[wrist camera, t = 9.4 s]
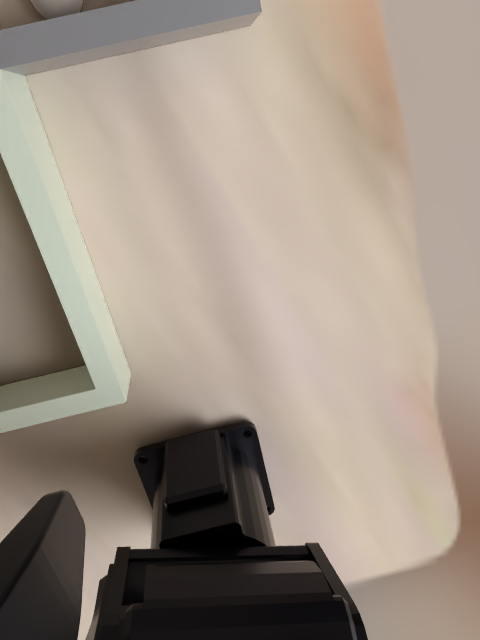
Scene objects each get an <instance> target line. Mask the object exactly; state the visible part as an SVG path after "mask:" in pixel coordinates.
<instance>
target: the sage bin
mask: <svg viewBox="0 0 480 640" xmlns="http://www.w3.org/2000/svg"><path fill="white" fill-rule="evenodd" d="M0 153H1V156H2V158H3V161H4V163H5V166H6V168H7V171H8V173H9V176H10V178H11V180H12V183H13V185H14V188H15V190H16V193H17V195H18V198H19V200H20V203H21V205H22V208H23V210H24V213H25V215H26V218H27V220H28V223H29V225H30V227H31V230H32V232H33V235H34V237H35V240H36V242H37V245H38V247H39V250H40V252H41V255H42V257H43V260H44V262H45V265H46V267H47V270H48V272H49V274H50V277H51V279H52V282H53V284H54V287H55V289H56V292H57V294H58V297H59V299H60V302H61V304H62V307H63V309H64V312H65V314H66V316H67V319H68V321H69V324H70V326H71V329H72V331H73V334H74V336H75V339H76V341H77V344H78V346H79V349H80V351H81V354H82V356H83V359H84V361H85V363H86V365H85V366H81V367H76V368H72V369H68V370H64V371H60V372H56V373H52V374H47V375H43V376H39V377H35V378H31V379H27V380H23V381H18V382H14V383H10V384H6V385H2V386H0V433H3V432H7V431H11V430H16V429H20V428H24V427H28V426H32V425H36V424H40V423H44V422H48V421H52V420H57V419H61V418H65V417H69V416H73V415H77V414H81V413H85V412H89V411H93V410H98V409H102V408H106V407H110V406H114V405H118V404H122V403H126V400H127V395H128V389H129V384H130V378H131V371H130V368H129V365H128V363H127V360H126V357H125V354H124V351H123V349H122V346H121V343H120V340H119V337H118V335H117V332H116V329H115V326H114V324H113V321H112V318H111V315H110V312H109V310H108V307H107V304H106V301H105V298H104V296H103V293H102V290H101V287H100V284H99V282H98V279H97V276H96V273H95V271H94V268H93V265H92V262H91V259H90V257H89V254H88V251H87V248H86V245H85V243H84V240H83V237H82V234H81V232H80V229H79V226H78V223H77V220H76V218H75V215H74V212H73V209H72V206H71V204H70V201H69V198H68V195H67V192H66V190H65V187H64V184H63V181H62V179H61V176H60V173H59V170H58V167H57V165H56V162H55V159H54V156H53V153H52V151H51V148H50V145H49V142H48V140H47V137H46V134H45V131H44V128H43V126H42V123H41V120H40V117H39V114H38V112H37V109H36V106H35V103H34V100H33V98H32V95H31V92H30V89H29V87H28V84H27V81H26V78H25V76H24V75H20V74H16V73H13V72H9V71H5V70H2V69H0Z"/></svg>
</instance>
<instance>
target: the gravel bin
mask: <svg viewBox="0 0 480 640" xmlns="http://www.w3.org/2000/svg"><path fill="white" fill-rule="evenodd" d="M30 1H31V3H32V4H33V6H34V8H35V9H36V10H37V11H38V12H39V13H40V14H41V15H42V16H43V17H44V18H46V19H48V20H43V21H39V22H34V23H30V24H25V25H20V26H16V27H11V28H7V29H2V30H0V69H2V70H5V71H9V72H13V73H16V74H20V75H24V76H26V75H31V74H35V73H40V72H44V71H49V70H53V69H58V68H62V67H67V66H71V65H76V64H80V63H85V62H89V61H94V60H98V59H103V58H107V57H112V56H116V55H121V54H125V53H130V52H134V51H139V50H143V49H148V48H152V47H157V46H161V45H166V44H170V43H175V42H179V41H184V40H188V39H193V38H197V37H202V36H206V35H211V34H215V33H220V32H224V31H229V30H233V29H238V28H242V27H247V26H251V24H252V23H253V22H254V21H255V19H256V18H257V17H258V16H259V14H260V13H261V12H262V10H261V4H260V0H135V1H130V2H126V3H121V4H117V5H112V6H107V7H103V8H98V9H94V10H89V11H84V12H80V10H81V8H82V4H83V0H30ZM79 12H80V13H79Z"/></svg>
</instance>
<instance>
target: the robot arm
mask: <svg viewBox="0 0 480 640" xmlns="http://www.w3.org/2000/svg"><path fill="white" fill-rule="evenodd" d="M246 430H250V432H249V433H243V432H244V431H246ZM141 456H146V457H147V458H141ZM134 463H135V465H136V468H137V470H138V473H139V476H140V478H141V481H142V483H143V486H144V488H145V491H146V493H147V496H148V498H149V501H150V503H151V506H152V509H153V519H152V535H151V549H130V548H131V547H117V551H116V556H115V562H114V564H110V565H109V570H108V574H107V575H106V576H105V577H103V578H102V579H101V580H100V581H99V587H98V593H97V599H96V605H95V610H94V615H93V619H92V623H91V626H90V629H89V632H88V634H87V637H86V640H368V638H367V635H366V631H365V627H364V624H363V621H362V619H361V616H360V613H359V611H358V609H357V607H356V605H355V603H354V602H353V600H352V598H351V597H350V595H349V594H348V592H347V590H346V588H345V587H344V585H343V583H342V582H341V580H340V578H339V577H338V575H337V573H336V572H335V570H334V568H333V567H332V565H331V563H330V562H329V560H328V558H327V557H326V555H325V553H324V552H323V550H322V548H321V547H320V545H319V543H306V544H305V545H301V546H275V542H274V537H273V533H272V528H271V524H270V520H269V515H271V514H272V513H273V512H274V510H275V507H274V503H273V499H272V494H271V490H270V486H269V482H268V478H267V473H266V469H265V465H264V461H263V456H262V452H261V448H260V444H259V439H258V435H257V431H256V427H255V425H254V424H253V423H252V422H242V423H238V424H234V425H230V426H226V427H222V428H217V429H212V430H208V431H204V432H200V433H196V434H192V435H188V436H184V437H180V438H176V439H172V440H169V441H165V442H161V443H157V444H153V445H149V446H145V447H141V448H139V449H137V450H136V451H135V454H134ZM267 506H268V507H267ZM84 551H85V524H84V521H83V518H82V516H81V514H80V512H79V510H78V508H77V506H76V504H75V502H74V500H73V498H72V496H71V494H70V493H69V492H68V491H65V490H62V491H58V492H54V493H50V494H47V495H45V496H43V497H42V498H41V499H40V500H39V501H38V502H37V503H36V504H35V506H34V507H33V508H32V509H31V510H30V511H29V512H28V513H27V514H26V515H25V516H24V518H23V519H22V520H21V521H20V522H19V523H18V524H17V525H16V526H15V527H14V528H13V530H12V531H11V532H10V533H9V534H8V535H7V536H6V537H5V538H4V539H3V540H2V542H1V543H0V640H77V638H78V631H79V624H80V616H81V604H82V586H83V568H84Z"/></svg>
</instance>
